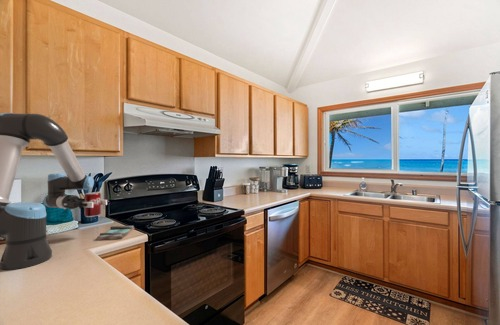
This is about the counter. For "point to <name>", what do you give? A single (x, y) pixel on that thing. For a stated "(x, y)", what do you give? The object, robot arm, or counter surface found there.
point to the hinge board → (115, 233)
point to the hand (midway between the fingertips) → (99, 203)
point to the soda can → (96, 201)
